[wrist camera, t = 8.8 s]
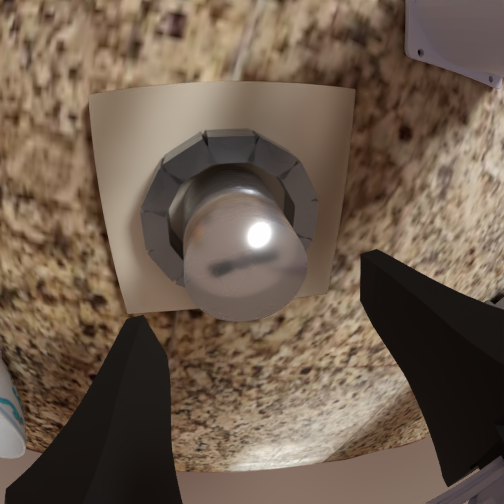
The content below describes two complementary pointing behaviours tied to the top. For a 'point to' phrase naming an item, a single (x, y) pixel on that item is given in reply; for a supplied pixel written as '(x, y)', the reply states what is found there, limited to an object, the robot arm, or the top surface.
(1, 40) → the top surface
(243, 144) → the ring collar
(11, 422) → the chinaware
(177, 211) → the birch board
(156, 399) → the robot arm
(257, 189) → the cylinder
